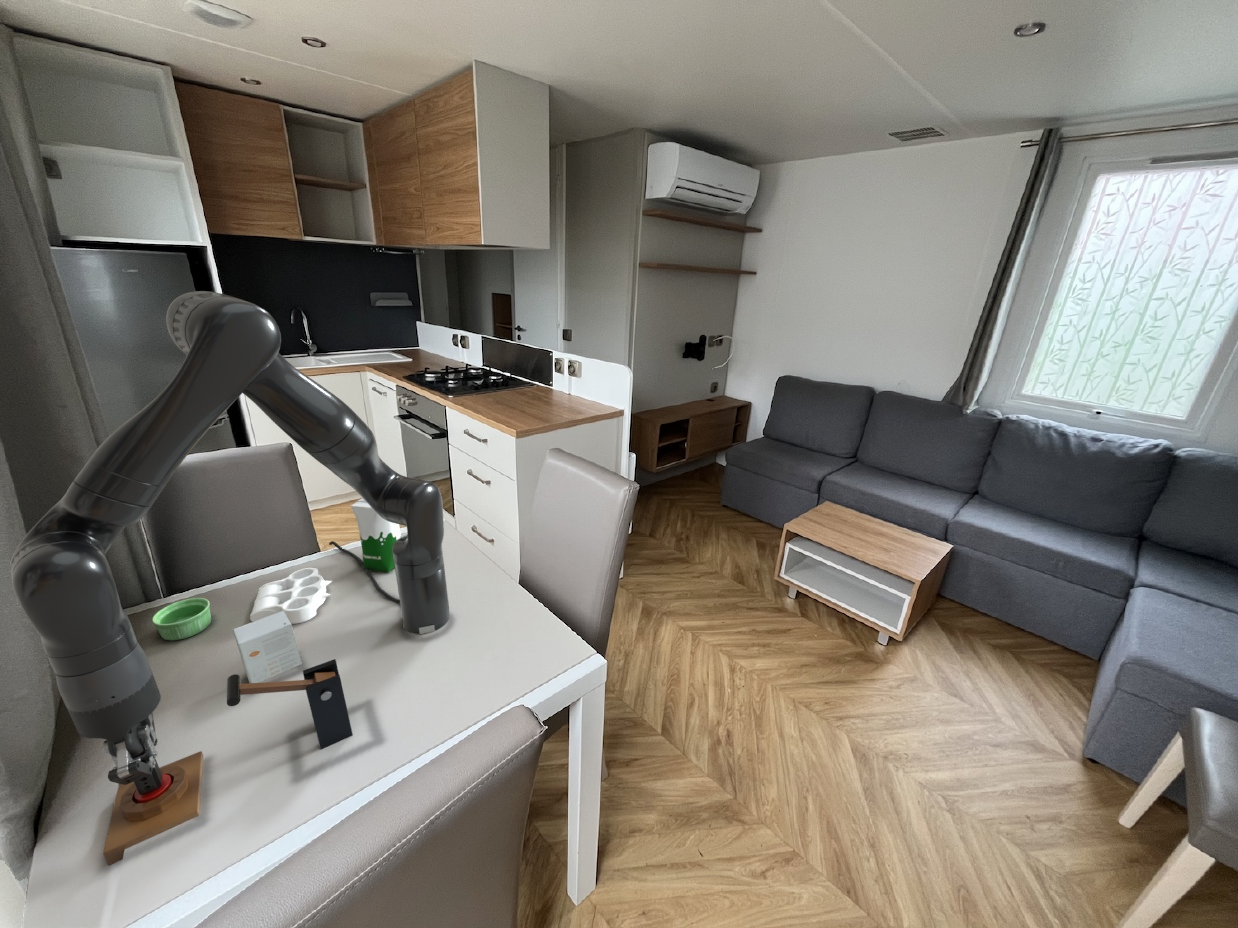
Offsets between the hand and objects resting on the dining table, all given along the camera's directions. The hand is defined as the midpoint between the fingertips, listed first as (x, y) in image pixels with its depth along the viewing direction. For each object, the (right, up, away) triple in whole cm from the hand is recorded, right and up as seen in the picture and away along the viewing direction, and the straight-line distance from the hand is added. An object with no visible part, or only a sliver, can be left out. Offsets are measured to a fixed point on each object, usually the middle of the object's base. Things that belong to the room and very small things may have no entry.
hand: (152, 786), depth 66 cm
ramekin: (-27, +9, +36) cm, 46 cm away
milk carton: (+2, +17, +61) cm, 64 cm away
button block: (0, -4, +2) cm, 4 cm away
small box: (-1, +4, +25) cm, 26 cm away
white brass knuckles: (-11, +12, +45) cm, 48 cm away
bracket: (+17, 0, +12) cm, 22 cm away
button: (0, -2, +1) cm, 2 cm away
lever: (+13, +10, +6) cm, 18 cm away
